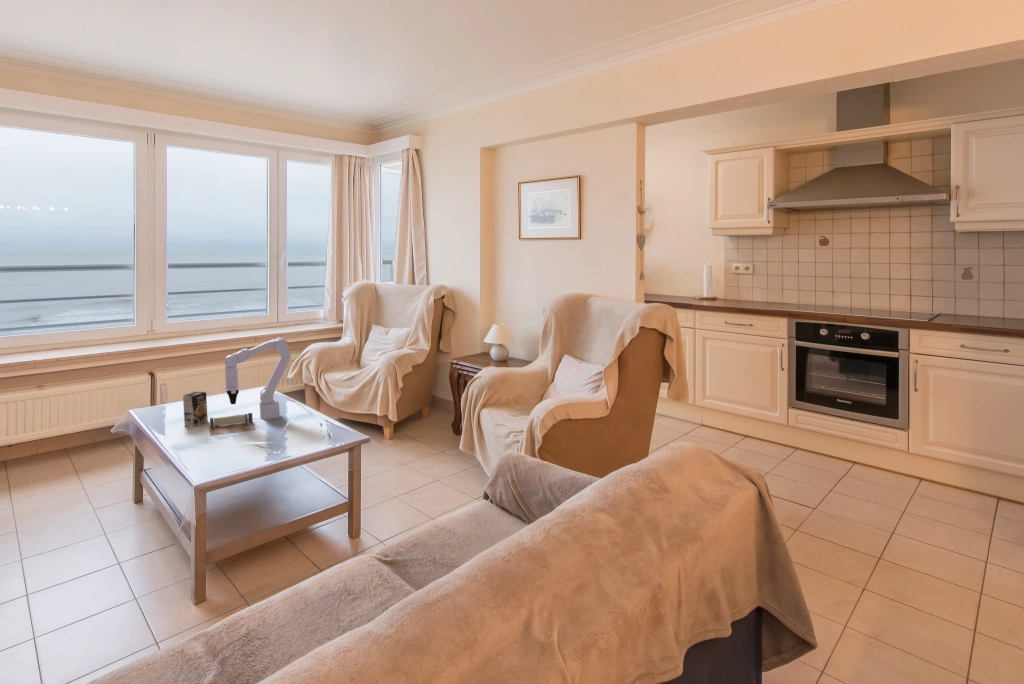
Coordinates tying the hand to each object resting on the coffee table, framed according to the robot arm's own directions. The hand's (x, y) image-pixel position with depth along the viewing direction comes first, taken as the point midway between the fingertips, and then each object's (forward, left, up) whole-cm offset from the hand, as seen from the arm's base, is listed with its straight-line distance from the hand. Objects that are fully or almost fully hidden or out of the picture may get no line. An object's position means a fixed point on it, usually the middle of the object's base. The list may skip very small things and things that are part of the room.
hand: (233, 403), depth 289 cm
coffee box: (+17, -3, -10) cm, 20 cm away
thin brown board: (+2, +11, -9) cm, 15 cm away
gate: (+2, +8, -8) cm, 12 cm away
